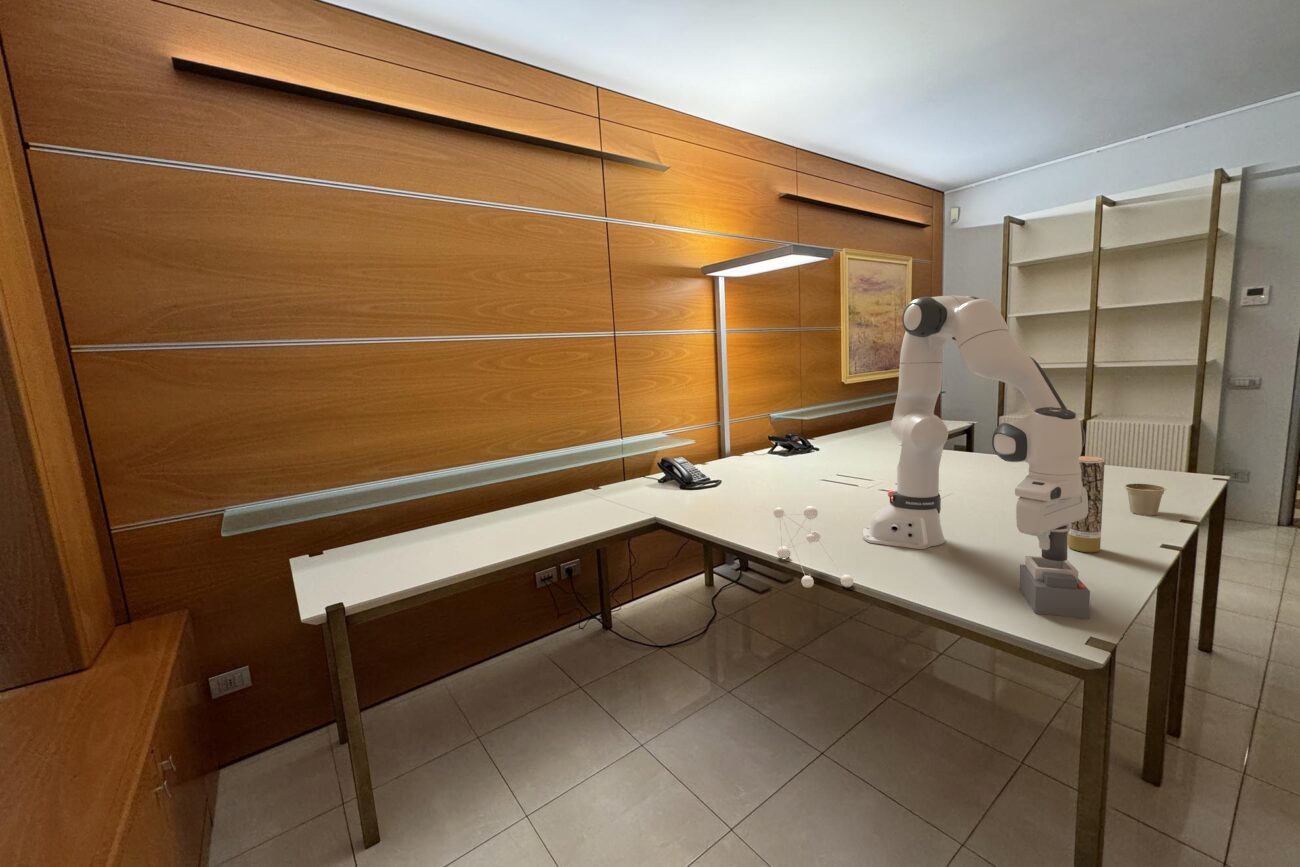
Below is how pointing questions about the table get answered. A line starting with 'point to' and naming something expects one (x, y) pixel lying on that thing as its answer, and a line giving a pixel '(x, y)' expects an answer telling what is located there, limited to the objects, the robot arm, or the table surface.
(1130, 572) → the table surface
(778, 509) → the molecule model
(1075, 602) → the desk organizer caddy
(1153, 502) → the flower pot
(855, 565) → the table surface
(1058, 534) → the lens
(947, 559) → the table surface
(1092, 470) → the paper tube
